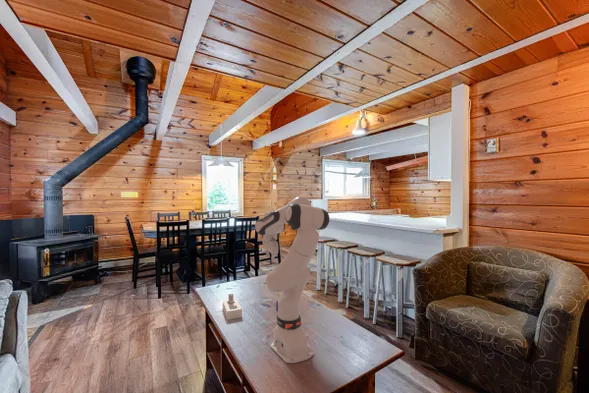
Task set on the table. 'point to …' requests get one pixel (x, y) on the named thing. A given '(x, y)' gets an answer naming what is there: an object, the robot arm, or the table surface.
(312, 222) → the robot arm
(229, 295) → the peg
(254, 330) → the table surface
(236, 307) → the hole block
